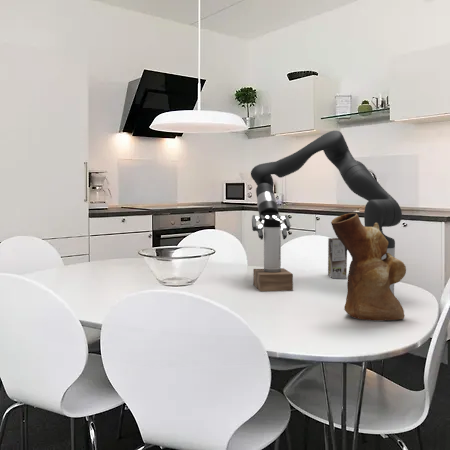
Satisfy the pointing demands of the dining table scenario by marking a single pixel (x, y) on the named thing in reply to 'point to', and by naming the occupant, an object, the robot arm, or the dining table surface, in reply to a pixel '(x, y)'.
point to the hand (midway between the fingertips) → (273, 238)
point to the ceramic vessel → (369, 271)
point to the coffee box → (337, 258)
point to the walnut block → (273, 280)
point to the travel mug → (272, 245)
